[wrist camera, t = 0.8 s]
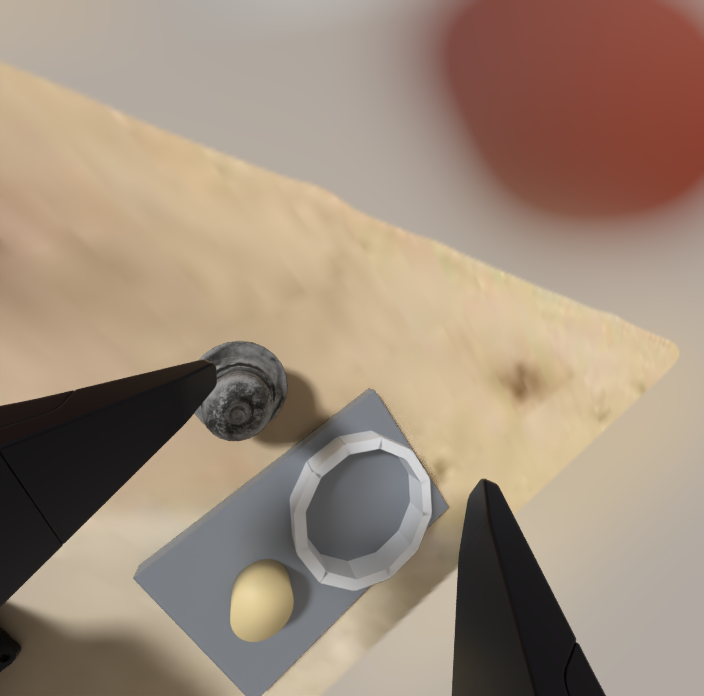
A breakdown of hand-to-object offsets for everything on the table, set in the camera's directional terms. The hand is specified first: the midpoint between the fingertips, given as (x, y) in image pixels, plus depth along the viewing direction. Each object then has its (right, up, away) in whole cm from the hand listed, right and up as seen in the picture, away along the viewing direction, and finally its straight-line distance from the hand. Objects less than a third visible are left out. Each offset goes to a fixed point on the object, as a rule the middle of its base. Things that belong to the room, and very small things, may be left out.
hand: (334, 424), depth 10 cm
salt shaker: (-8, 0, +13) cm, 15 cm away
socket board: (-2, -12, +15) cm, 19 cm away
